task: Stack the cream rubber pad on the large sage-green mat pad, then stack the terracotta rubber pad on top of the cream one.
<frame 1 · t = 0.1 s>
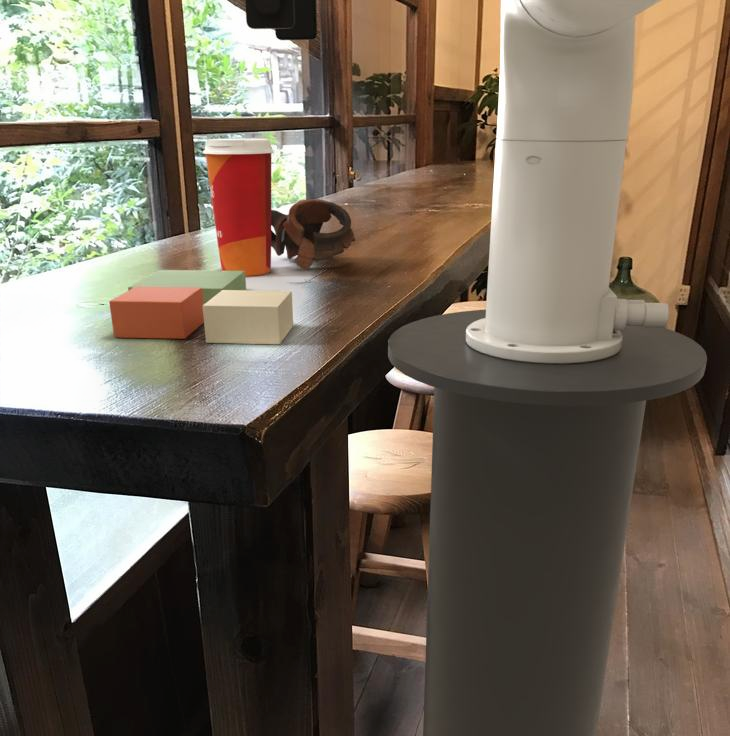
hand: (284, 34, 58), 22 cm above the table, tool pointing down, fingers open, 9 cm apart
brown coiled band: (306, 264, 98), on the table
terracotta pad: (161, 329, 68), on the table
base pad: (191, 299, 79), on the table
cream pad: (251, 334, 67), on the table
paper cup: (246, 273, 93), on the table
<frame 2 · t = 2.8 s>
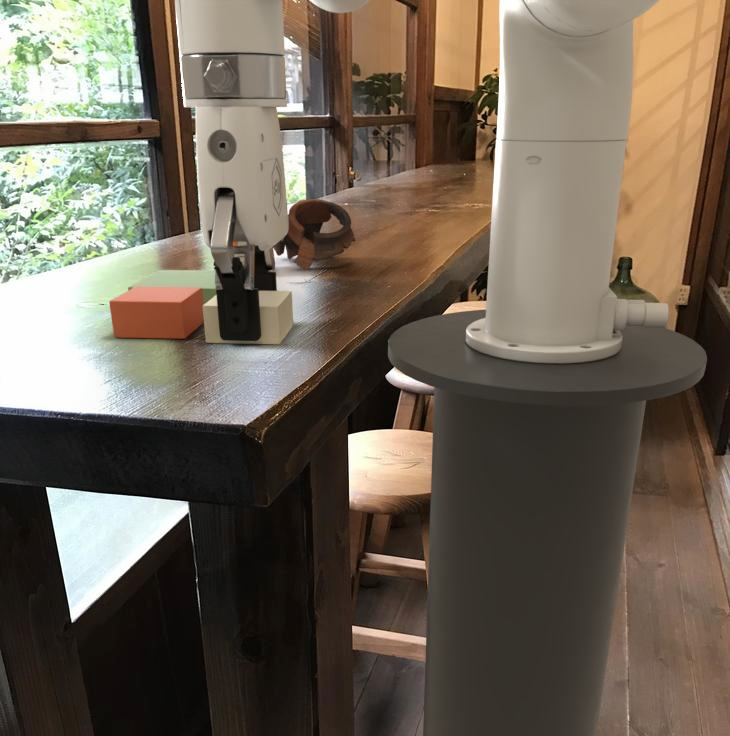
hand: (250, 327, 66), 1 cm above the table, tool pointing down, fingers closed on cream pad, 6 cm apart
cream pad: (251, 334, 67), on the table, touching gripper
everything else where it was.
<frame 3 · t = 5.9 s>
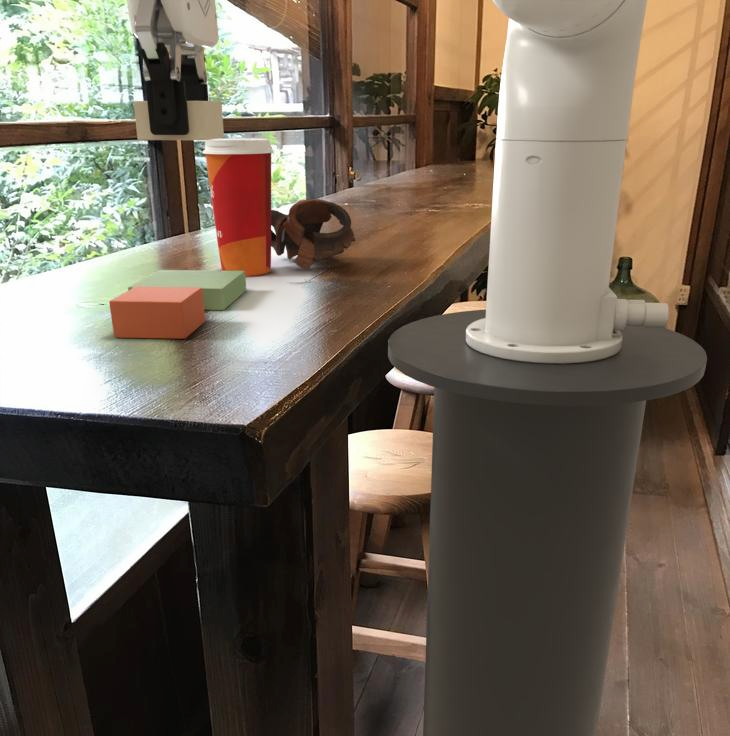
hand: (181, 131, 71), 15 cm above the table, tool pointing down, fingers closed on cream pad, 6 cm apart
cream pad: (182, 138, 71), point 15 cm above the table, touching gripper
everything else where it was.
when the fingers open (3 cm above the table, at t = 9.3 s): cream pad stays where it is, resting on base pad.
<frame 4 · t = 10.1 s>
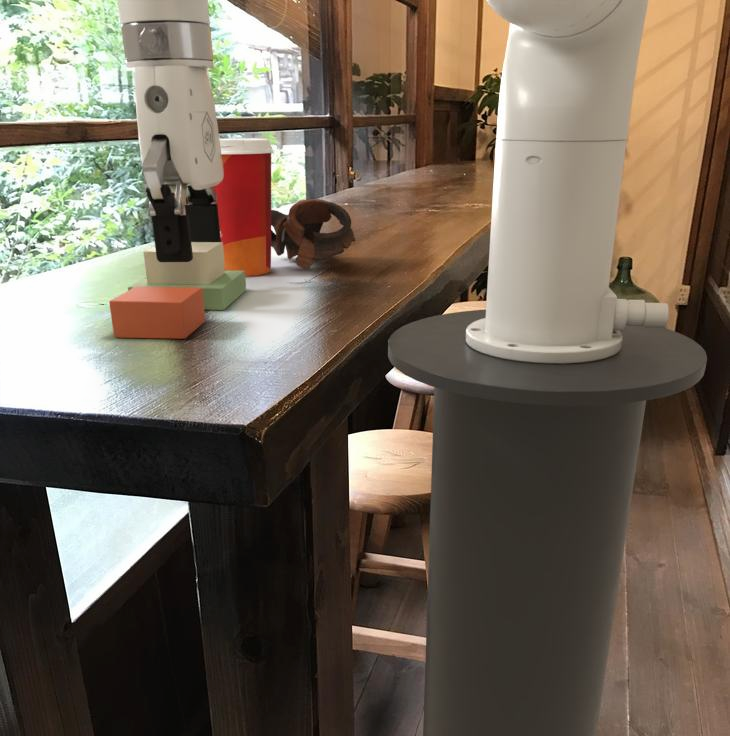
hand: (191, 253, 77), 4 cm above the table, tool pointing down, fingers open, 9 cm apart
base pad: (191, 299, 79), on the table, touching cream pad
cream pad: (187, 278, 78), point 2 cm above the table, touching base pad
everything else where it was.
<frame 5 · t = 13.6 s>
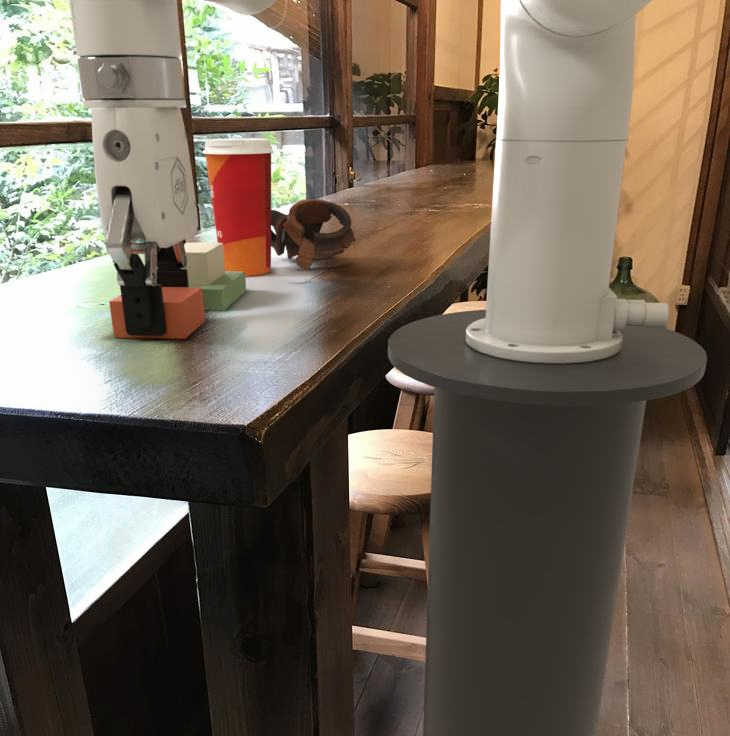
hand: (160, 322, 68), 1 cm above the table, tool pointing down, fingers closed on terracotta pad, 6 cm apart
terracotta pad: (161, 329, 68), on the table, touching gripper
everything else where it was.
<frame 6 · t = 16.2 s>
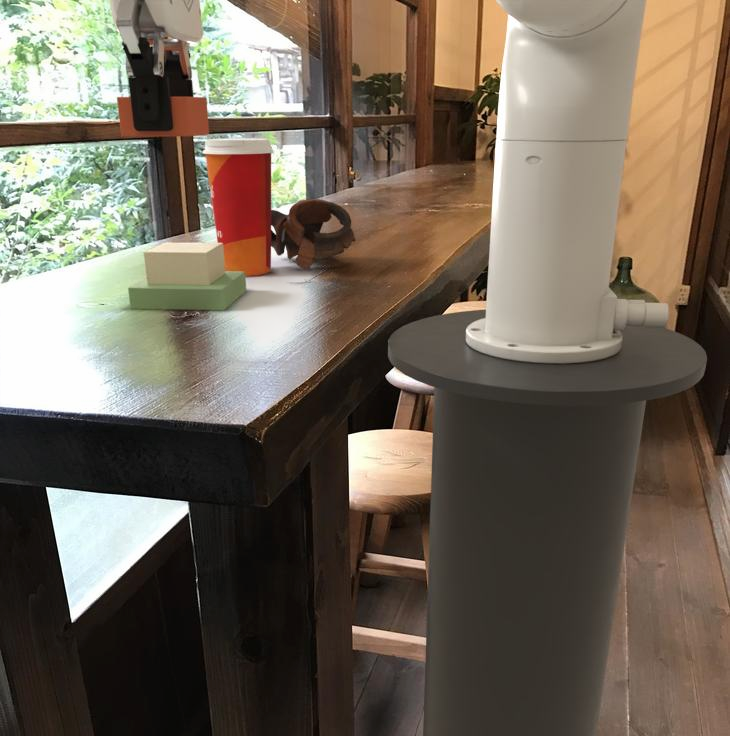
hand: (166, 127, 70), 15 cm above the table, tool pointing down, fingers closed on terracotta pad, 6 cm apart
terracotta pad: (166, 135, 70), point 15 cm above the table, touching gripper
everything else where it was.
when the fingers open (6 cm above the table, at t = 19.1 s): terracotta pad stays where it is, resting on cream pad.
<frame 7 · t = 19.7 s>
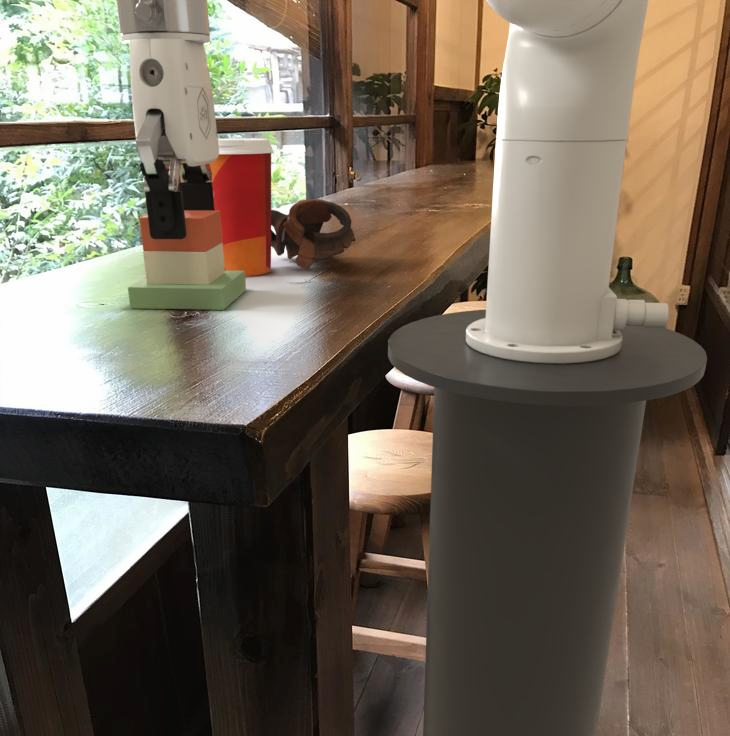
hand: (185, 231, 76), 6 cm above the table, tool pointing down, fingers open, 9 cm apart
terracotta pad: (184, 246, 77), point 5 cm above the table, touching cream pad
cream pad: (187, 278, 78), point 2 cm above the table, touching base pad, terracotta pad
everything else where it was.
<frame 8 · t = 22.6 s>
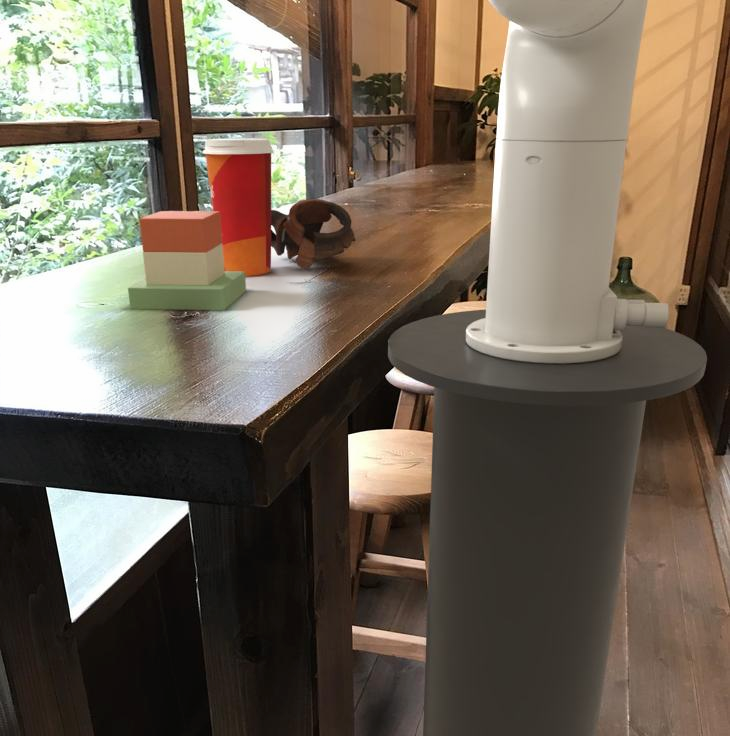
nothing on the table moved.
at the end: cream pad 0.2 cm off-centre on the base pad, point 2.0 cm above the base pad's base; terracotta pad 0.0 cm off-centre on the cream pad, point 3.0 cm above the cream pad's base; the gripper is holding nothing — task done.
